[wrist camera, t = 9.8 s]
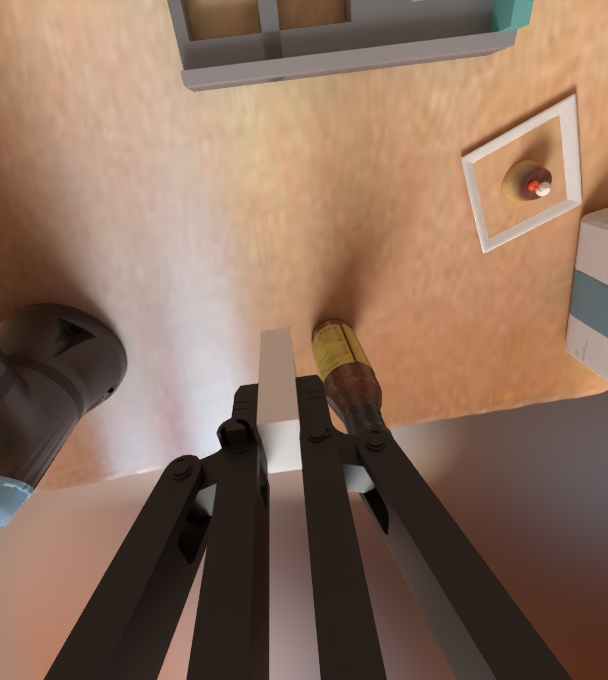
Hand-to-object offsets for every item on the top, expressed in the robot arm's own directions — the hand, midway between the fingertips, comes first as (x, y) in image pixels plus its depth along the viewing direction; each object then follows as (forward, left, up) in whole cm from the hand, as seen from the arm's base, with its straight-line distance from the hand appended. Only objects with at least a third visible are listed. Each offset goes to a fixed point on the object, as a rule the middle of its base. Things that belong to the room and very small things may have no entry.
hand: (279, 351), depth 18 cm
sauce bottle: (+6, -15, -25) cm, 29 cm away
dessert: (+29, +2, -25) cm, 38 cm away
